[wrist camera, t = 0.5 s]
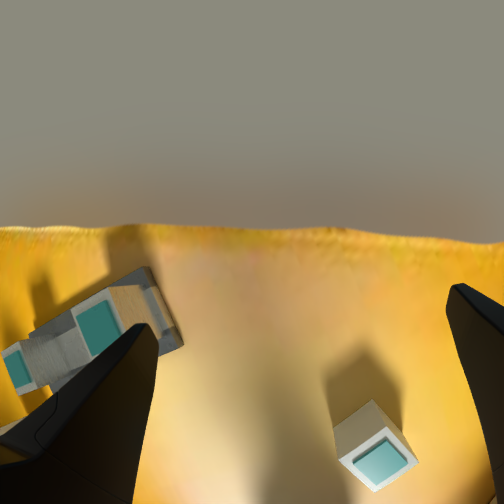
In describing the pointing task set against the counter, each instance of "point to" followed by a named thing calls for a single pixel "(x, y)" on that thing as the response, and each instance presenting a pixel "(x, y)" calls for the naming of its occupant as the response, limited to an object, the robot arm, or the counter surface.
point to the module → (373, 447)
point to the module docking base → (89, 333)
